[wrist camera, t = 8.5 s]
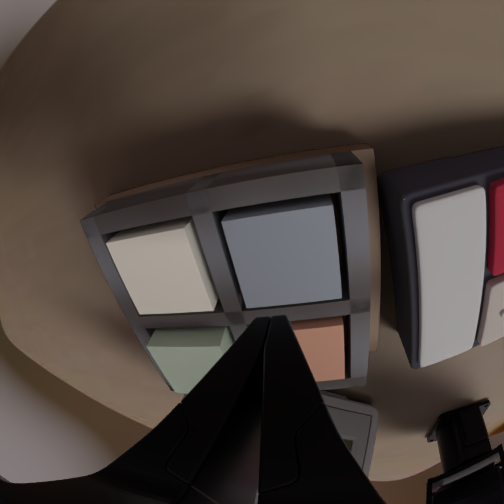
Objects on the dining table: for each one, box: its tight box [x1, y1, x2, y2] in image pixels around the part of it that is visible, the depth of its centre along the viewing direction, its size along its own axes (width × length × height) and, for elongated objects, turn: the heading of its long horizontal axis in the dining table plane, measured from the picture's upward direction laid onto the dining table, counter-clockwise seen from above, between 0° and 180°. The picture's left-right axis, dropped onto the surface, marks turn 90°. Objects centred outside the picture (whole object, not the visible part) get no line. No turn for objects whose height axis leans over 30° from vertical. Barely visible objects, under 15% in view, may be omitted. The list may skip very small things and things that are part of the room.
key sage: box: [146, 326, 235, 394], centre depth 15 cm, size 4×4×2 cm
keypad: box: [80, 143, 381, 391], centre depth 15 cm, size 12×14×4 cm
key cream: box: [106, 216, 219, 314], centre depth 13 cm, size 4×4×2 cm
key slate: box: [221, 193, 342, 308], centre depth 12 cm, size 4×4×2 cm
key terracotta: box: [289, 315, 345, 382], centre depth 15 cm, size 4×4×2 cm
